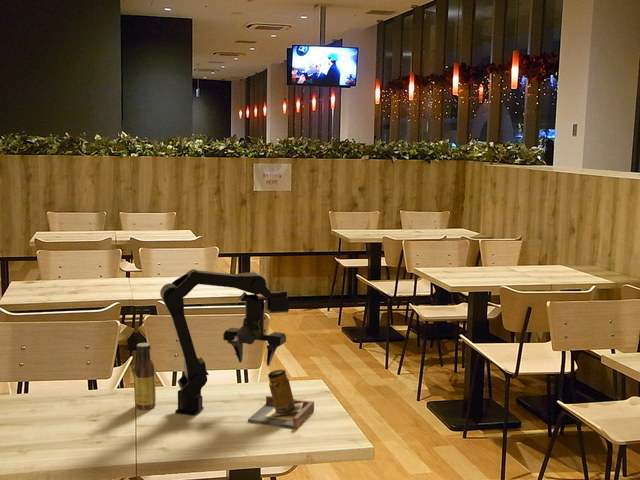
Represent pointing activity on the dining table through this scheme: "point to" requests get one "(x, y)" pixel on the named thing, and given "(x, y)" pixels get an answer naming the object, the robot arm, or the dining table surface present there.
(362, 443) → the dining table surface
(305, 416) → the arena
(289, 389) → the condiment
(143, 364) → the sauce bottle
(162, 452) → the dining table surface
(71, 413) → the dining table surface
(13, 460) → the dining table surface
